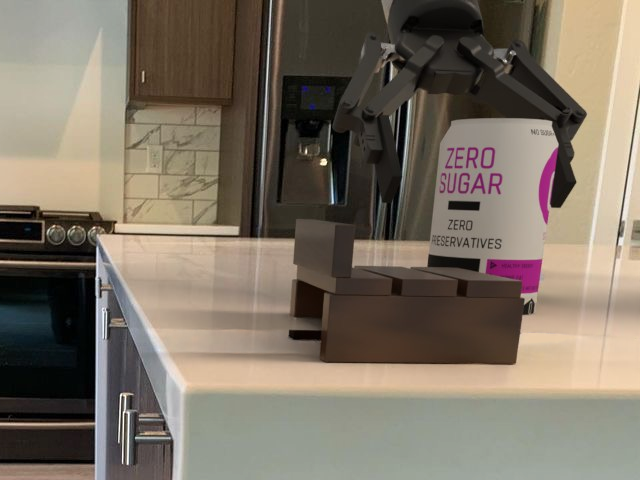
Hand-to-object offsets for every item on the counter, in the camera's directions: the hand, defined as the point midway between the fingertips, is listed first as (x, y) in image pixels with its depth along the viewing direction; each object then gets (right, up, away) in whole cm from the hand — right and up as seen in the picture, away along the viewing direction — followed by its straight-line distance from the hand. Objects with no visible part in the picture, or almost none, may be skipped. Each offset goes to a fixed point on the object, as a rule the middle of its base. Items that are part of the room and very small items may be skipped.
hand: (478, 193), depth 72 cm
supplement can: (0, -10, +1) cm, 10 cm away
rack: (-9, -13, -10) cm, 19 cm away
